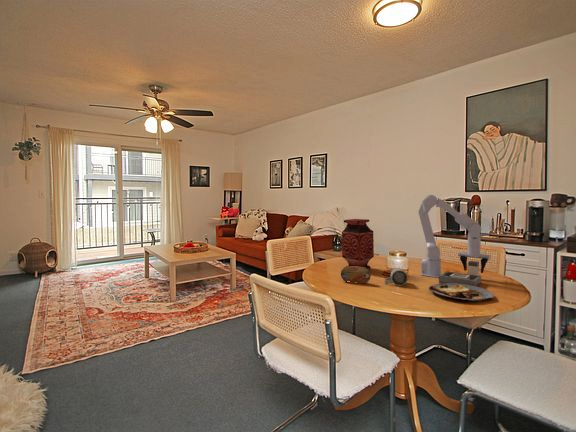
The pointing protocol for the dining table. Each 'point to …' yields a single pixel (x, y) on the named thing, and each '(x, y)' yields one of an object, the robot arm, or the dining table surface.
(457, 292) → the food plate
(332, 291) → the dining table surface
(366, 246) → the vase
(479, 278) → the caddy
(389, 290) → the dining table surface
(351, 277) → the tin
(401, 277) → the ceramic mug
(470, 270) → the block
